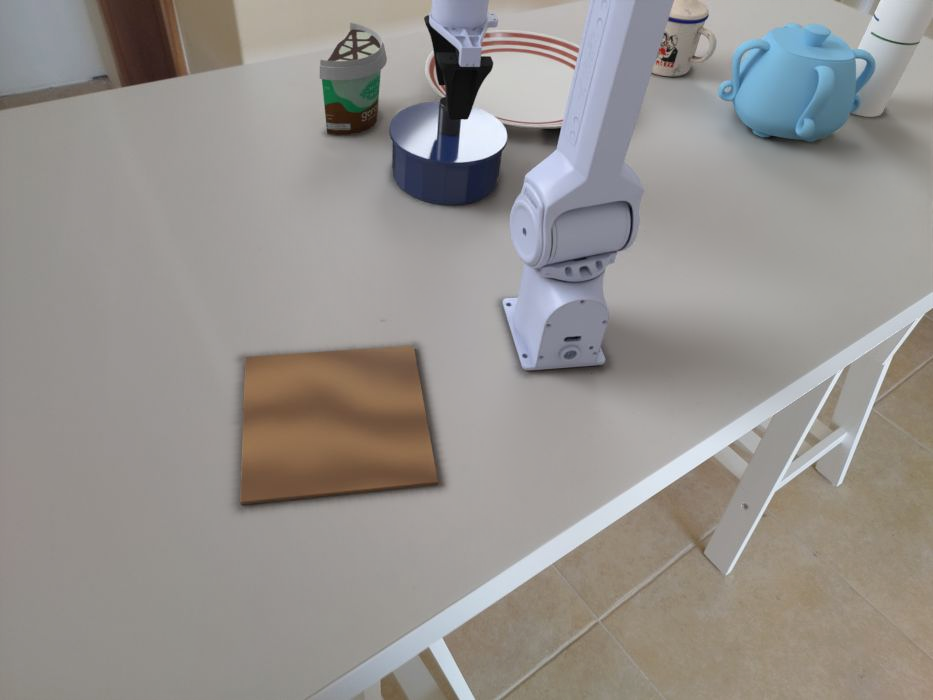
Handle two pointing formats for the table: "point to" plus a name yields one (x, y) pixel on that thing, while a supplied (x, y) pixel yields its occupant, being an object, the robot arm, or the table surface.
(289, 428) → the board
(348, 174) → the table surface
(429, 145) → the tin lid
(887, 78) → the cylindrical container
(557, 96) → the dinner plate
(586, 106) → the robot arm
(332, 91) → the food container
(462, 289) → the table surface
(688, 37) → the teacup with lid
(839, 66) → the decorative pot
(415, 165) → the tin
